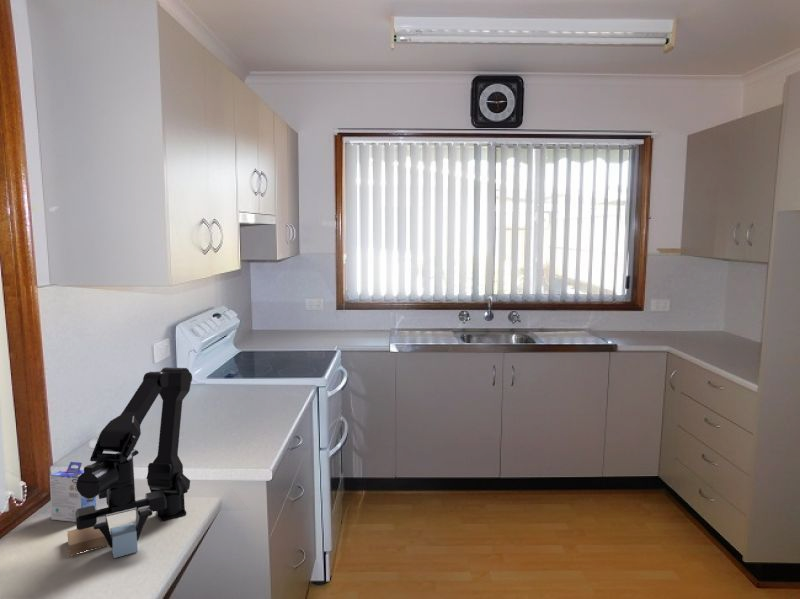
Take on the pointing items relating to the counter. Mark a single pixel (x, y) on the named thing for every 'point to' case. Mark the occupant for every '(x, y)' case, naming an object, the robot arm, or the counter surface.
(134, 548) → the slate cube
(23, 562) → the counter surface
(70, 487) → the ink cartridge box
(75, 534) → the walnut block
